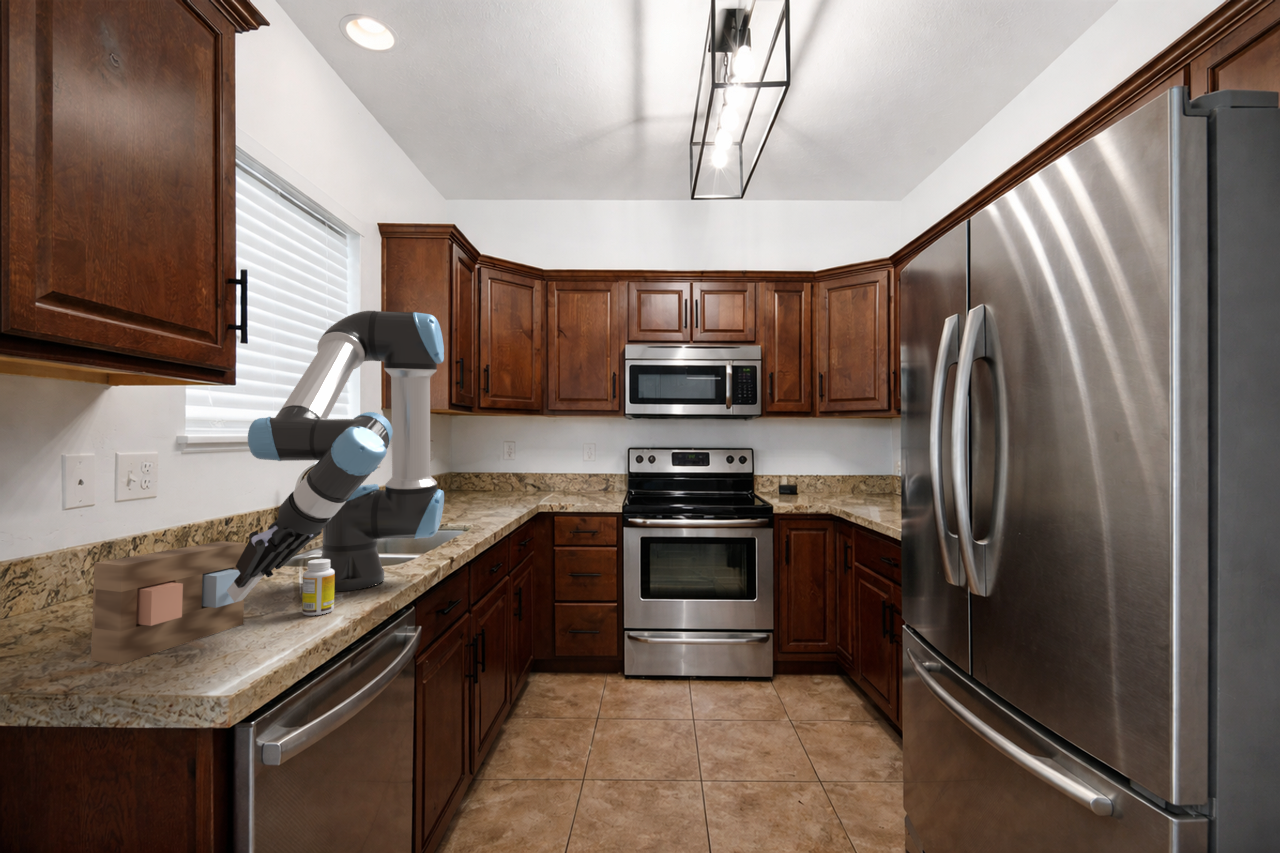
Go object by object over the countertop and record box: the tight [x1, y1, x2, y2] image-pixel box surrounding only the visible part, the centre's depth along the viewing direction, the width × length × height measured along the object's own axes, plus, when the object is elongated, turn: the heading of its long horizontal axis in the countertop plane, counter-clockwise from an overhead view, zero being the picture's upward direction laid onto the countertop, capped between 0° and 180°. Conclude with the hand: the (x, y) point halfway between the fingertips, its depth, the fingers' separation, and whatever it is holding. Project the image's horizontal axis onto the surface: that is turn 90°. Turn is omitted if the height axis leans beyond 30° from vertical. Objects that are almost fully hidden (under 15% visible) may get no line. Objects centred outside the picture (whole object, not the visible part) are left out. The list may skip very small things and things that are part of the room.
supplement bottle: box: [301, 558, 335, 617], centre depth 113 cm, size 6×6×10 cm
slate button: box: [202, 569, 240, 608], centre depth 101 cm, size 5×7×5 cm, turn 74°
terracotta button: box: [136, 582, 183, 626], centre depth 91 cm, size 5×7×5 cm, turn 74°
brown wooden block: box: [90, 540, 247, 666], centre depth 96 cm, size 20×6×15 cm, turn 164°
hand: (234, 595), depth 99 cm, fingers closed
